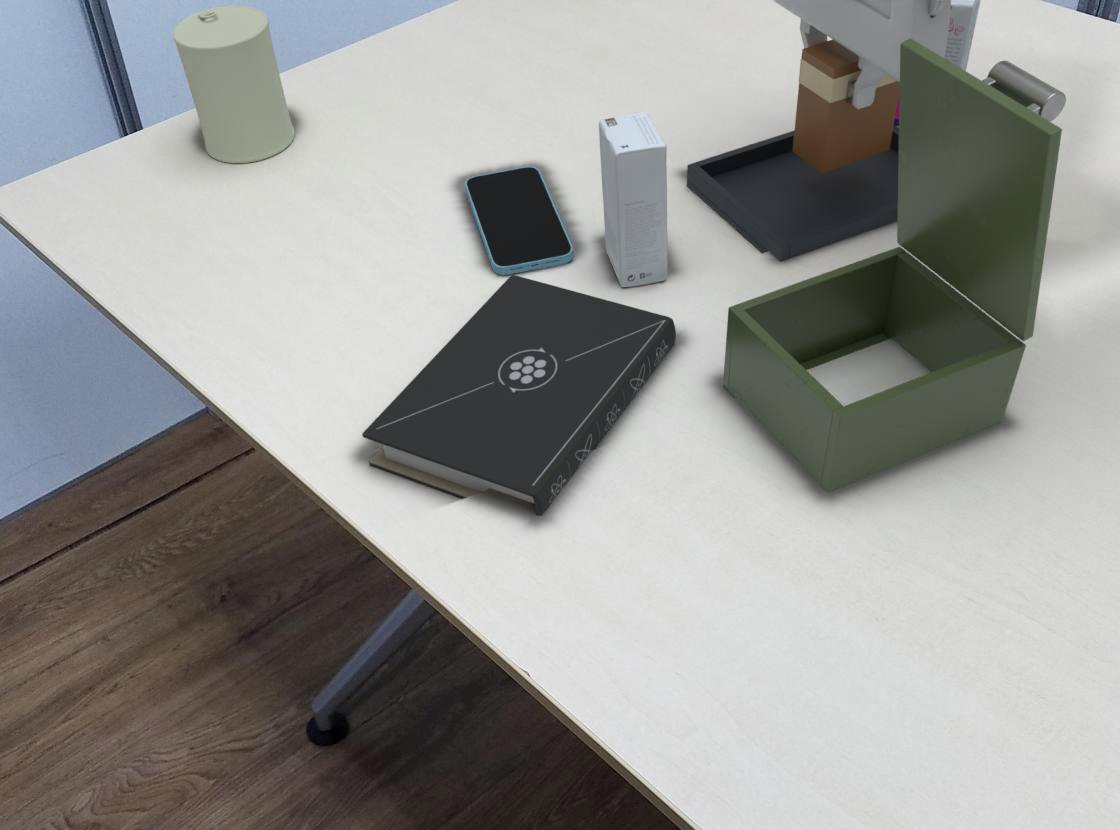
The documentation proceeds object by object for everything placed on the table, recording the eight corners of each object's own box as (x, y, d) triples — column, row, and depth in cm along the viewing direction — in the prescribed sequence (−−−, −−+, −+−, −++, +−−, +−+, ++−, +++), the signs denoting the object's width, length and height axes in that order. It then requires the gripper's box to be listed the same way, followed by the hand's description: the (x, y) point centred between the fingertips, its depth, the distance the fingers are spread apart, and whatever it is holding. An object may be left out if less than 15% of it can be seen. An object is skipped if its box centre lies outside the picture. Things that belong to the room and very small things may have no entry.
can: (267, 109, 124) (238, -9, 115) (311, 140, 119) (284, 19, 109) (190, 140, 120) (153, 22, 111) (232, 174, 115) (197, 52, 106)
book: (542, 528, 81) (539, 497, 78) (367, 464, 86) (360, 434, 84) (676, 350, 92) (677, 318, 90) (514, 304, 98) (512, 273, 95)
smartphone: (494, 269, 100) (462, 178, 109) (495, 280, 100) (463, 188, 110) (576, 253, 100) (537, 164, 110) (576, 264, 101) (538, 174, 110)
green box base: (825, 504, 80) (840, 417, 74) (721, 393, 88) (728, 307, 82) (998, 433, 83) (1026, 345, 77) (882, 333, 91) (900, 246, 86)
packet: (858, 128, 104) (872, 26, 98) (890, 150, 102) (907, 46, 95) (791, 151, 103) (801, 48, 96) (821, 174, 100) (834, 69, 93)
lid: (1050, 134, 65) (1125, 95, 65) (899, 42, 73) (967, 8, 73) (1023, 342, 77) (1086, 307, 77) (896, 243, 85) (954, 212, 86)
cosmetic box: (669, 281, 98) (672, 145, 89) (617, 290, 98) (615, 155, 89) (650, 242, 102) (652, 108, 93) (600, 250, 102) (597, 117, 93)
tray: (864, 127, 112) (867, 106, 110) (970, 202, 102) (976, 180, 101) (686, 185, 108) (687, 164, 106) (779, 269, 98) (782, 247, 96)
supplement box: (960, 103, 113) (987, -21, 105) (947, 132, 110) (974, 7, 101) (900, 95, 115) (921, -27, 107) (885, 124, 112) (906, 0, 103)
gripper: (989, -57, 81) (948, 131, 92) (821, -139, 94) (801, 34, 104) (914, -35, 80) (881, 153, 91) (753, -122, 93) (741, 52, 103)
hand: (837, 89), depth 98 cm, fingers closed on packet, 4 cm apart
